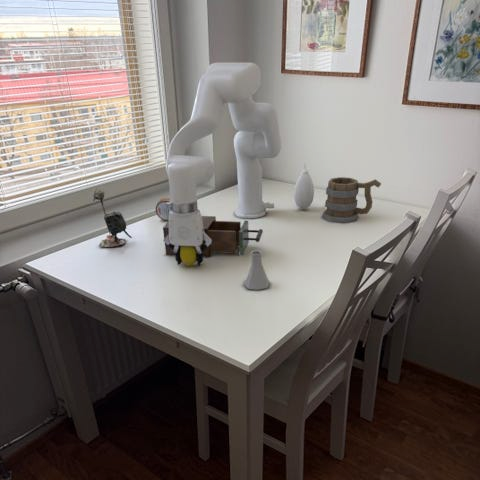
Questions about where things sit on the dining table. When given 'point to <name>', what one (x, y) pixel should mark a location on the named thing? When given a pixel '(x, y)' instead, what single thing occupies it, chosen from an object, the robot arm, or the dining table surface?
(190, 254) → the lemon
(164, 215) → the tin
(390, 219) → the dining table surface
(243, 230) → the drawer
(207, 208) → the dining table surface
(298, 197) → the air blower bulb
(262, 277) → the flask
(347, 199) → the tankard
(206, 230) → the cabinet
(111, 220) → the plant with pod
